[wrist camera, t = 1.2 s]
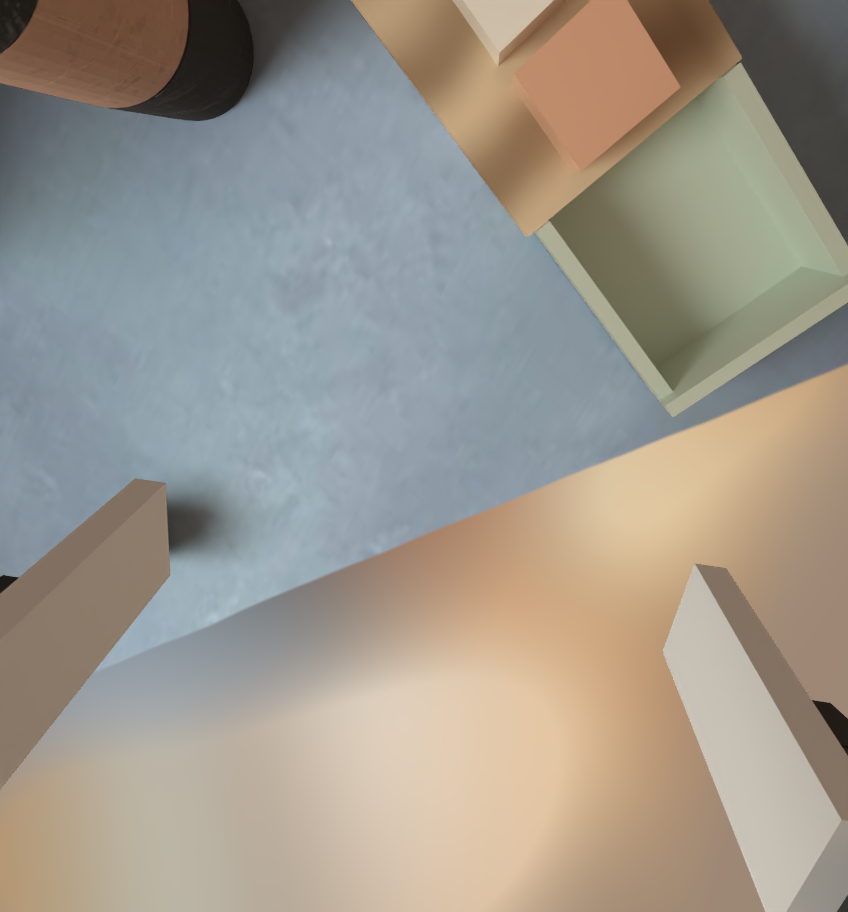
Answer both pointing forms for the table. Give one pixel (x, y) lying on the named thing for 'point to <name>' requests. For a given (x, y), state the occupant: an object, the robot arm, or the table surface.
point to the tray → (703, 245)
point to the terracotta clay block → (594, 81)
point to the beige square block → (505, 21)
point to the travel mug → (130, 53)
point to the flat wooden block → (502, 110)
